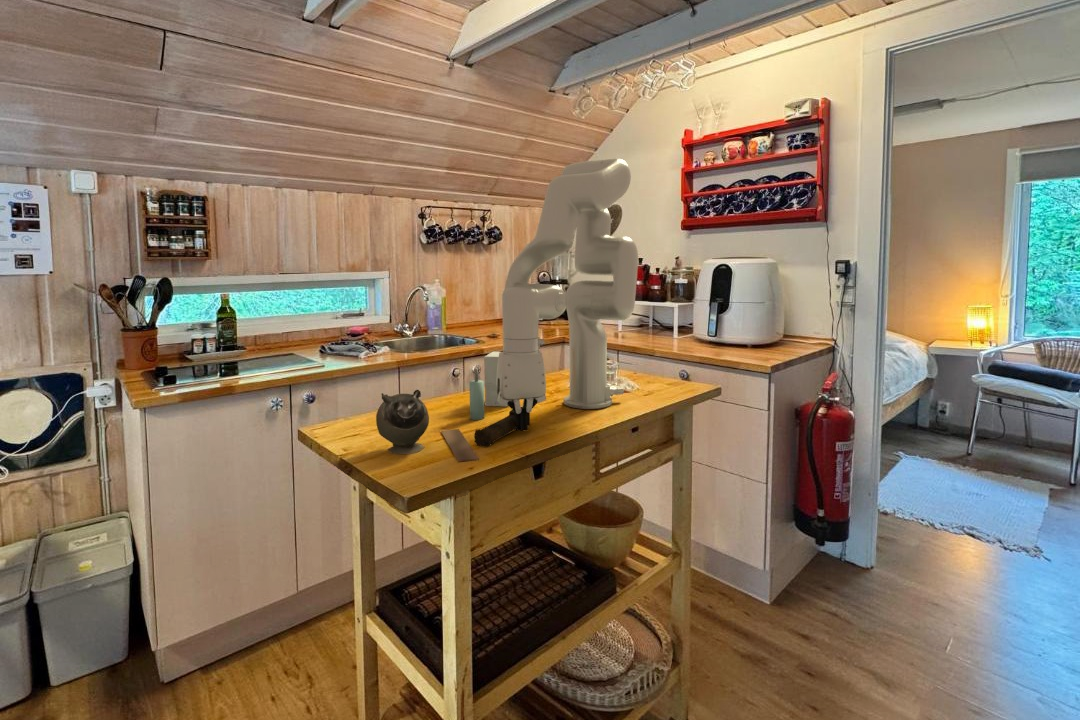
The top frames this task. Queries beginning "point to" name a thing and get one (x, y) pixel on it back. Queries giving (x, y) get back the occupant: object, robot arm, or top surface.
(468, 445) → the joist strip
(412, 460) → the top surface
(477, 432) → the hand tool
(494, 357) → the small box
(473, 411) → the green ice pop
